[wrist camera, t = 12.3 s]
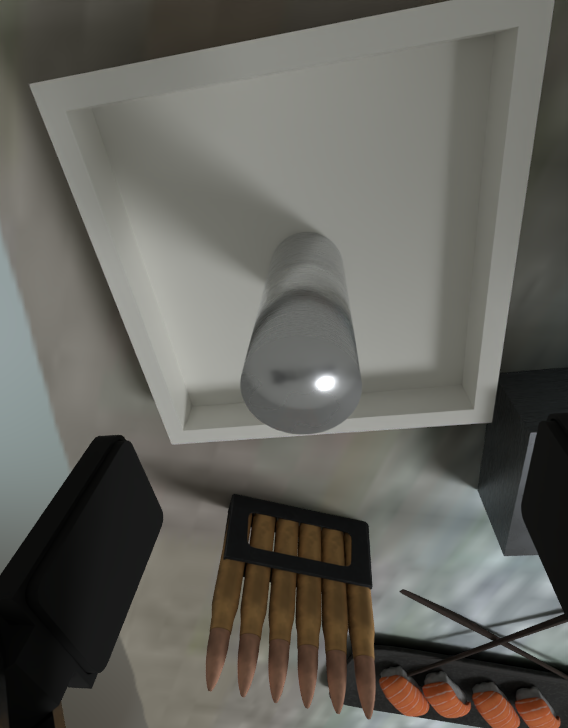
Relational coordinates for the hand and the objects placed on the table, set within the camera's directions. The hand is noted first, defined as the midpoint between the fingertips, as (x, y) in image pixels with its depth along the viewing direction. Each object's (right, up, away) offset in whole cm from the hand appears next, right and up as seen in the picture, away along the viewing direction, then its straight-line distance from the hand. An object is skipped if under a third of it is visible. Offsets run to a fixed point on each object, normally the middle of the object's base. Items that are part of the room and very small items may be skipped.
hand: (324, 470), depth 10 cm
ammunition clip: (0, -9, +23) cm, 25 cm away
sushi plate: (+21, -26, +33) cm, 47 cm away
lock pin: (0, +7, +11) cm, 13 cm away
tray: (0, +8, +12) cm, 14 cm away
